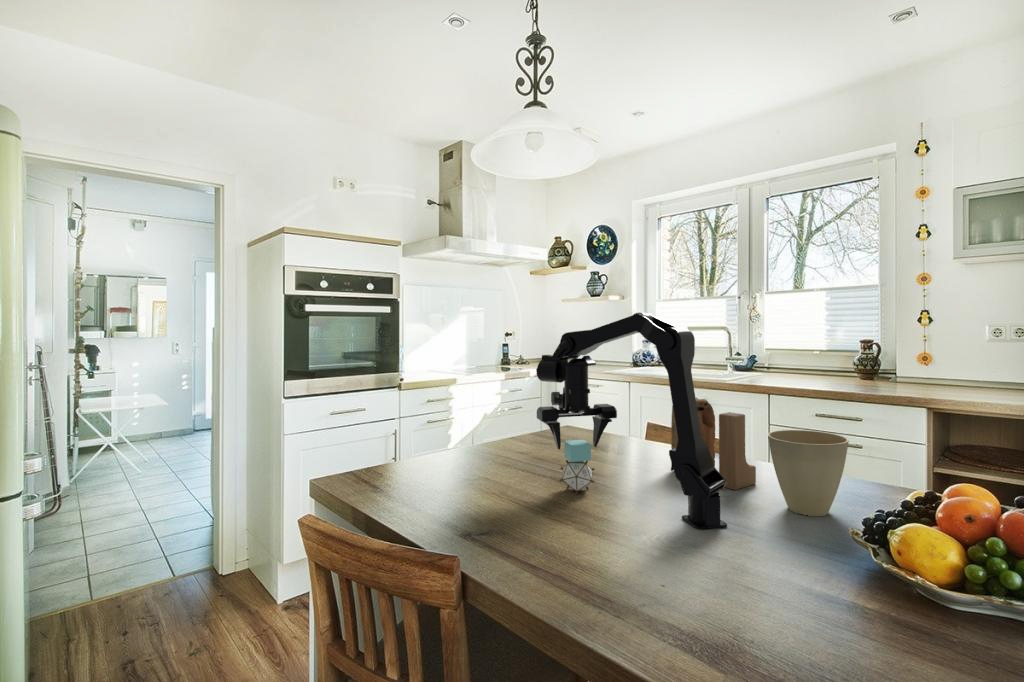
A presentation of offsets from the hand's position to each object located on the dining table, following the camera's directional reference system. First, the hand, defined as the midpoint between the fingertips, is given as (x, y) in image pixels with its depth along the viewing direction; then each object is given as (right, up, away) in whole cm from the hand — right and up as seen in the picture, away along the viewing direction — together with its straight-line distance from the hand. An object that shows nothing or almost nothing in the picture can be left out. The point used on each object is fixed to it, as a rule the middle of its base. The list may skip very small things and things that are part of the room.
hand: (576, 448), depth 124 cm
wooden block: (+40, -10, +3) cm, 42 cm away
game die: (0, -11, 0) cm, 11 cm away
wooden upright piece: (+34, -10, +15) cm, 38 cm away
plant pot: (+47, -11, -15) cm, 51 cm away
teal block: (0, -3, 0) cm, 3 cm away
